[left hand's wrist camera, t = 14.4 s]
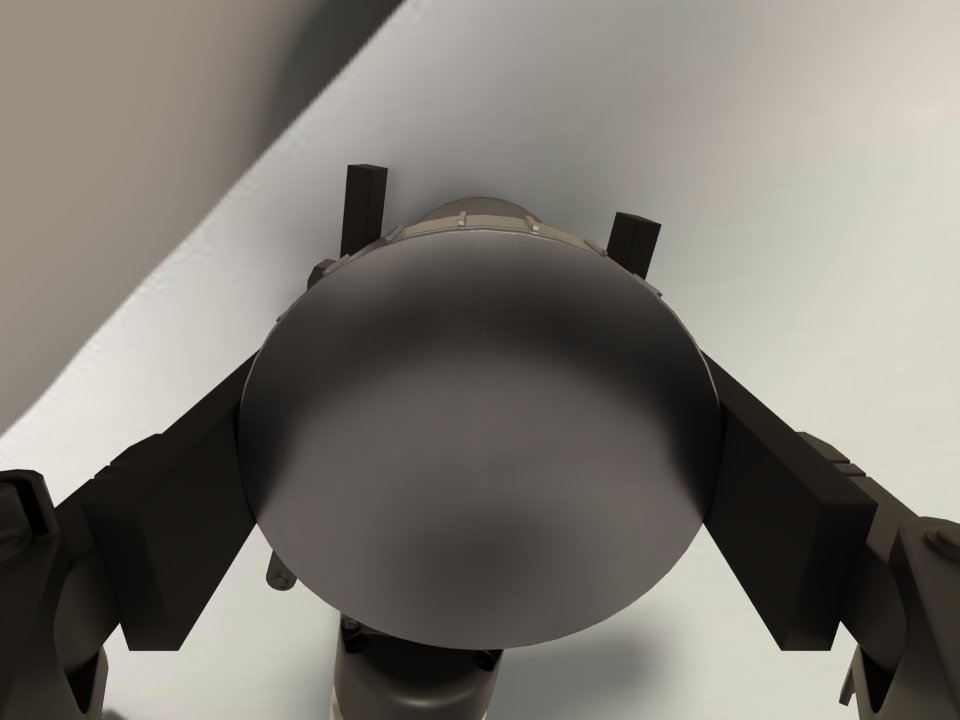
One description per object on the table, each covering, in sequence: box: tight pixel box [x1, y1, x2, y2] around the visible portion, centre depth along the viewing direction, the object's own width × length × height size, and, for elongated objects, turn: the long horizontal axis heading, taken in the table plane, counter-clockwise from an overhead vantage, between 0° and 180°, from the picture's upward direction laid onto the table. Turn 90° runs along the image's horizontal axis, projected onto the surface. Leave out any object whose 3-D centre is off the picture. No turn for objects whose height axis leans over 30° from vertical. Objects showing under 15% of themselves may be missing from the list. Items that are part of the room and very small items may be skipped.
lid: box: [237, 211, 723, 650], centre depth 11 cm, size 9×9×2 cm
